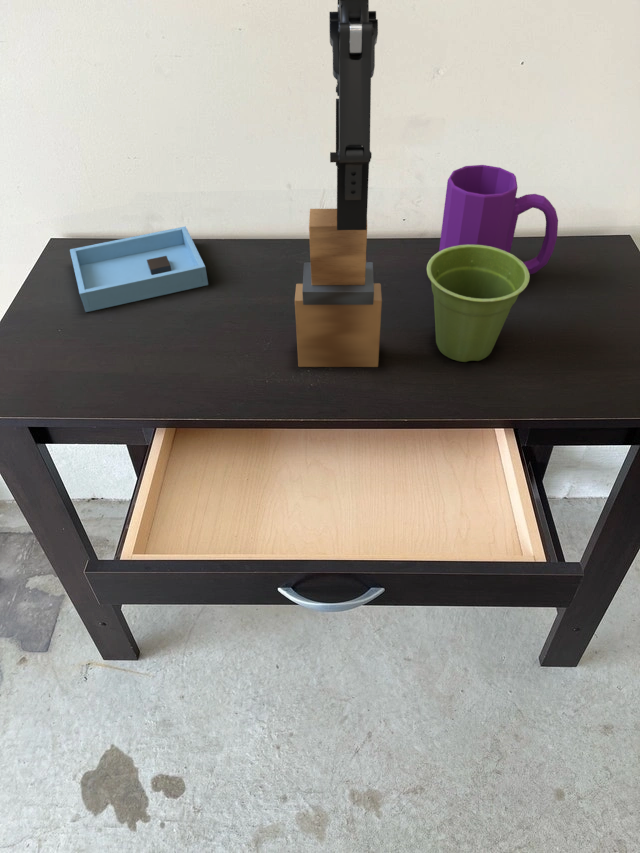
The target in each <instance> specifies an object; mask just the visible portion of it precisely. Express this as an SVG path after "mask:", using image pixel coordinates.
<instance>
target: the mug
mask: <svg viewBox="0 0 640 853" xmlns="http://www.w3.org/2000/svg"><path fill="white" fill-rule="evenodd" d="M517 181H518V180H517V177H516V175H515V173H513V172H512V171H509V170H506V169H505V168H502V167H500V166H492V165H486V164H474V165H464V166H462V167H460V168H457V169H455V170H453V171H452V172H451V174H450V175H449V178H448V179H447V182H446V191H445V199H444V207H443V215H442V223H441V232H440V240H439V248H438V249H439V250H438V252H439V251H441V250H444V249H446V248H449V247H453V246H458V245H484V246H491V247H494V248H498V249H501V250H504V251H506V252H508V253H510V254H511V250H512V246H513V241H514V236H515V232H516V228H517V223H518V218H519V216H520V215H521V214H523V213H525V212H527V211H529V210H530V209H536V210H539V211H541V212H542V213H543V214H544V217H545V232H544V237H543V241H542V244H541V248H540V250H539V252H538V253H537V255H536V256H535V257H533V258H532V259H529V260H526V261H522V262H523V263H524V264H525V266H526V267H527V269H528V271H529V275H533V274H536V273H537V272H539V271H540V270H541V269H543V268H544V267H545V266H546V265H547V264H548V263H549V261H550V259H551V257H552V255H553V253H554V250H555V247H556V242H557V239H558V231H559V230H558V228H559V227H558V226H559V217H558V213H557V210H556V208H555V207H554V205H553V204H552V203H551V201H550V200H549V199H548V198H546V196H545V195H541V194H537V193H528V194H523V195H521V196H519V197H517V193H518V182H517Z"/></svg>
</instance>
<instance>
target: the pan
mask: <svg viewBox="0 0 640 853" xmlns="http://www.w3.org/2000/svg"><path fill="white" fill-rule="evenodd" d="M69 253H70V257H71V261H72V262H71V263H72V267H73V271H74V274H75V279H76V280H75V281H76V284H77V288H78V293H79V296H80V299H81V303H82V305H83V308H84V312H85V313H89V312H94V311H98V310H103V309H106V308H107V309H108V308H112V307H116V306H121V305H124V304H129V303H134V302H139V301H143V300H147V299H151V298H156V297H162V296H166V295H170V294H174V293H179V292H183V291H188V290H192V289H197V288H201V287H205V286H209V281H208V279H209V278H208V275H207V267H206V265H205V263H204V261H203V258H202V256H201V254H200V253H199V250H198V248H197V246H196V245H195V242H194V240H193V238H192V235H191V234H190V232H189V230H188V228H187V226H186V225H185V226H181V227H180V226H179V227H176V228H170V229H165V230H160V231H155V232H149V233H145V234H140V235H136V236H129V237H125V238H120V239H115V240H110V241H104V242H100V243H95V244H91V245H85V246H80V247H75V248H70V249H69ZM162 256H167V258H168V261H169V263H170V265H171V270H172V271H169V272H164V273H160V274H155V275H151V272H150V269H149V267H148V263H147V260H148V259H153V258H158V257H162Z"/></svg>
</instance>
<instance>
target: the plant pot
mask: <svg viewBox="0 0 640 853" xmlns="http://www.w3.org/2000/svg"><path fill="white" fill-rule="evenodd" d="M523 262H524V261H522V260H521V259H520V258H518V257H517V256H516V255H514V254H513V253H511V252H510V253H508V252H506V251H504V250H501V249H498V248H494V247H491V246H484V245H458V246H453V247H449V248H446V249H444V250H441V251H439V250H438V251H437V252H436V253H434V255H432V256H431V257H430V259H429V260H428V262H427V264H426V275H427V277H428V279H429V281H430V283H431V284H430V285H431V292H432V295H433V307H434V308H433V310H434V323H435V324H434V327H435V328H434V330H435V344H436V346H437V349H438V350H439V352H440V353H441V354H442V355H443V356H445V357H447V358H448V359H451V360H454V361H456V362H460V363H467V362H473V361H475V362H479V361H482V360H484V359H486V358H487V357H489V356H490V355H491V353H492V351H493V349H494V347H495V345H496V342H497V340H498V338H499V336H500V334H501V331H502V329H503V326H504V325H505V323H506V321H507V318H508V316H509V313H510V312H511V310H512V308H513V305H515V303H516V302H517V299H518V297H519V296H520V294H521V293H522V292H524V291H525V289H526V288H527V287H528V285H529V282H530V279H531V278H530V275H531V274H530V275H529V271H528V269H527V267H526V266H525V264H524V263H523Z"/></svg>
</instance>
